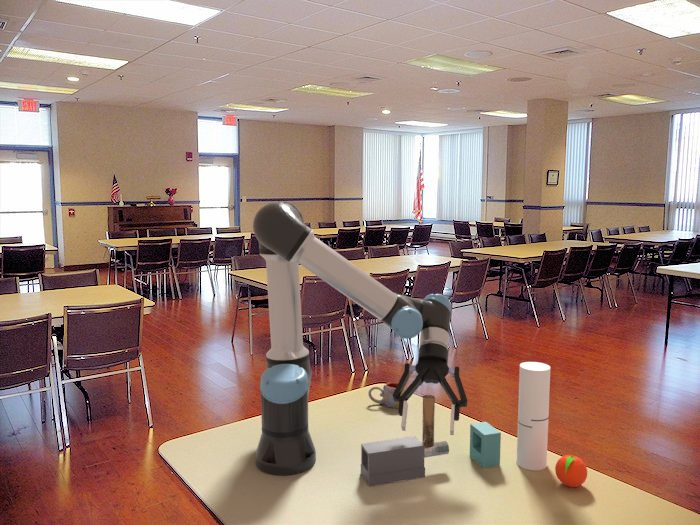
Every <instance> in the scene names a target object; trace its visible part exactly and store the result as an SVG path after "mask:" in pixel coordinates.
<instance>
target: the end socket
mask: <svg viewBox="0 0 700 525" xmlns="http://www.w3.org/2000/svg"><path fill="white" fill-rule="evenodd" d="M469 426H470V427H469V428H470V430H469V456H470V457H471V458H472V460H474V461H475V462H477V463H478V465H479V466H481V468H483V469H486V468H494V467H498V466H499V467H500V465H501V445H502V444H501V443H502V442H501V440H502V439H501V438H502V437H501V436H502V434H501V433H502V432H500V431H499V430H498V429H497V428H495V427H494V426H493V425H491V424H490V423H488V422H487V421H481V422H474V423H470V425H469Z"/></svg>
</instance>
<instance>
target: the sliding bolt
mask: <svg viewBox="0 0 700 525" xmlns="http://www.w3.org/2000/svg"><path fill="white" fill-rule="evenodd" d="M435 400H436V399H435V395H432V394H425V395H423V396H422V441H421V442H422V443H423V444H424V445H425V451H424V459H425V458H431V457H437V456H445V455H449V454H450V453H449V452H450V447H449V443H448V442H447V440H440V441H435V412H436V411H435V407H436V406H435V403H436V402H435Z"/></svg>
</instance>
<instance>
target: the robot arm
mask: <svg viewBox="0 0 700 525" xmlns="http://www.w3.org/2000/svg"><path fill="white" fill-rule="evenodd" d="M252 229H253V231H252V232H253V233H254V236H255V239H256V240H257V241H258V248H259V250H258V251H259V255H260V256H261V258H263V259H264V260H265V267H266V284H267V298H268V315H269V317H268V318H269V332H270V333H269V334H270V349H269V350H268V351H267V352H266V354H265V356H266V357H265V358H266V359H265V360H266V369H265V370H264V371H263V372H262V373H261V376H260V381H259V389H260V406H261V408H260V409H261V411H260V412H261V413H260V414H261V415H260V416H261V433H260V438H259V441H258V445H257V448H256V451H255V466H256V467H257V468H258V470H260V471H262V472H263V473H267V474H269V475H277V476H280V475H281V476H287V475H296V474H299V473H302V472H305V471H307V470H308V469H310V468H312V467H313V466H314V465H315V463H316V460H317V455H316V454H317V451H316V448H315V445H314V442H313V438H312V436H311V433H310V431H309V394H310V389H311V383H312V379H313V372H312V368H311V363H310V351H309V349H308V348H307V347H305V345H304V339H303V322H302V302H301V299H302V298H301V286H300V284H301V283H300V281H301V280H300V266H302V267H303V268H305V269H306V270H308V271H310V273H312V274H313V275H315V276H316V277H317V278H319V279H320V280H322V281H324V282H325V283H326V284H328V285H329V286H331V288H334V289H335V290H336V291H338V292H339V293H341V294H342V295H344V296H345V297H347V298H348V299H349V300H351V301H352V302H354V303H356V305H358V306H359V307H361V308H363V309H364V310H365V311H367V312H368V313H370V314H371V315H372V316H373V317H375V318H377V319H378V320H379V321H380V322H382V323H384V324H385V325H386V326H388V327H389V328H390V329H392V331H393V333H395V334H396V335H397V336H398V337H399V338H402V339H406V340H409V339H413V338H416V337H417V336H418V335H419V345H418V346H419V348H418V357H417V362H416V364H414V365H411V364H410V363H405V364H404V368H403V369H404V370H403V373H402V375H401V377H400V379H399V381H398V382H397V383H398V385H397V387H396V389H395V391H394V393H393V399H394V401H395V402H396V401H397V402H399V408H398V411H397V412H398V416H399V417H401V424H400V427H401V431H403V432H406V427H407V418H408V417H407V416H408V407H409V405H408V401H409V399H410V398H411V397H412V395H413V394H414V393H415V392H416V391H417V389H418V388H420V386H422V385H423V383H425V384H435V385H436V384H437V385H440V386H441V388H442V389H443V390H444V392H445V394H446V395H447V396H448V398H449V400H450V401H451V403H452V404H451V405H450V406H451V407H450V408H451V409H450V421H449V422H450V424H449V425H450V426H449V428H450V429H449V435H450V436H454V434H455V433H454V432H455V422H459V420H460V410H461V408H466V407H467V406H468V398H467V394H466V392H465V389H464V386H463V383H462V380H461V377H460V376H461V375H460V372H461V370H460V367H459V366H454V367H449V366H448V364H449V363H448V361H449V345H450V325H451V316H452V313H451V312H452V309H451V308H452V307H451V301H450V299H449V298H448V297H447V296H445V295H444V294H441V293H436V294H435V293H429V294H428V295H426V296H425V297H424V298H423V299H419V298H414V297H411V296H407V295H403V294H399V293H396V292H393V291H392V290H390V289H389V288H388V287H386V286H385V285H384V284H382V283H381V282H379V281H378V280H376V279H375V278H374V277H373V276H371V275H369V274H368V273H367V272H365V271H364V270H362V269H361V268H360V267H358V266H356V265H355V264H354V263H352V262H351V261H350V260H348V259H347V258H345V257H344V256H343V255H341V254H340V253H338V252H337V251H336V250H334V249H333V248H332V247H330V246H329V245H327V244H326V243H324V242H323V241H322V240H320V239H319V238H318V237H316V236H315V232H314V229H312V228H310V226H307V224H306V223H305V221H304V217H303V215H302V213H301V211H300V210H299V208H298V207H297V206H295V205H294V204H292V203H291V202H290V203H289V202H287V201H279V200H278V201H273V202H271V203H267V204H266V205H264V206H262V207H260V208H259V209H258V211H257V212H256V214H255V215H254V218H253V221H252ZM414 372H416V373H417V375H415V378H414V380H413V381H412V382H411V383H410V385H408V386H407V388H405V391H404V393H403V394H402V395H401V393H402V391H403V389H404V387H405V386H406V385H407V383H408V381H409V378H410V376H411V375H412V374H413V373H414ZM448 374H450V376H451V377H452V378H454V383H455V387H456V390H457V391H458V392H457V393H458V396H459V398H460V399H459V398H458V397H457V395H456V394H455V392H454V390H453V389H452V387H451V386H450V384H449V382H448V380H447V378H446V376H447V375H448ZM400 395H401V396H400Z"/></svg>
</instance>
